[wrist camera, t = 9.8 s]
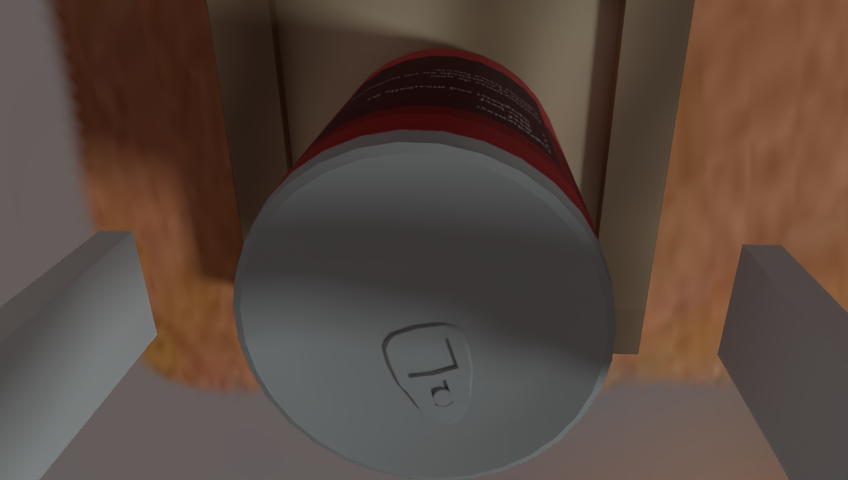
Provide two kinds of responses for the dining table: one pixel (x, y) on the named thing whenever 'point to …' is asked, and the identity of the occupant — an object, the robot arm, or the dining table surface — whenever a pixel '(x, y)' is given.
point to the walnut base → (499, 41)
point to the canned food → (429, 277)
